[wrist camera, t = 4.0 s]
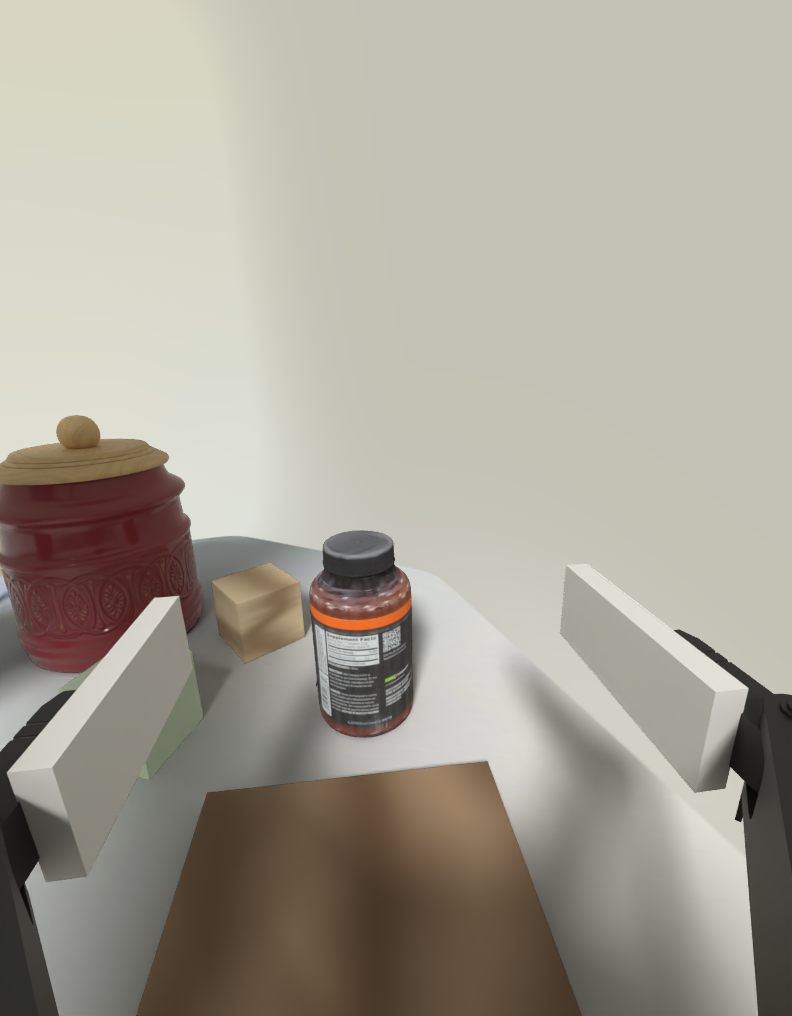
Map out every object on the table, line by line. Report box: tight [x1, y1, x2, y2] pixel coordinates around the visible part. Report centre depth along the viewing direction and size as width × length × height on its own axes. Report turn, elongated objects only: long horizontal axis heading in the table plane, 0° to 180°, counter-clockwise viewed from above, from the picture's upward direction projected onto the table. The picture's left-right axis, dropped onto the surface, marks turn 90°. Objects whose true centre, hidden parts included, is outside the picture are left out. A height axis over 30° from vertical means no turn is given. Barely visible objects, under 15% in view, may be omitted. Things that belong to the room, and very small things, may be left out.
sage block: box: [59, 649, 203, 780], centre depth 25 cm, size 4×4×5 cm
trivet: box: [136, 761, 582, 1016], centre depth 16 cm, size 14×14×1 cm
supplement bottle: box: [309, 531, 413, 737], centre depth 27 cm, size 6×6×11 cm
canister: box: [0, 415, 203, 672], centre depth 35 cm, size 13×13×18 cm
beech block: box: [211, 563, 305, 664], centre depth 35 cm, size 5×5×5 cm
